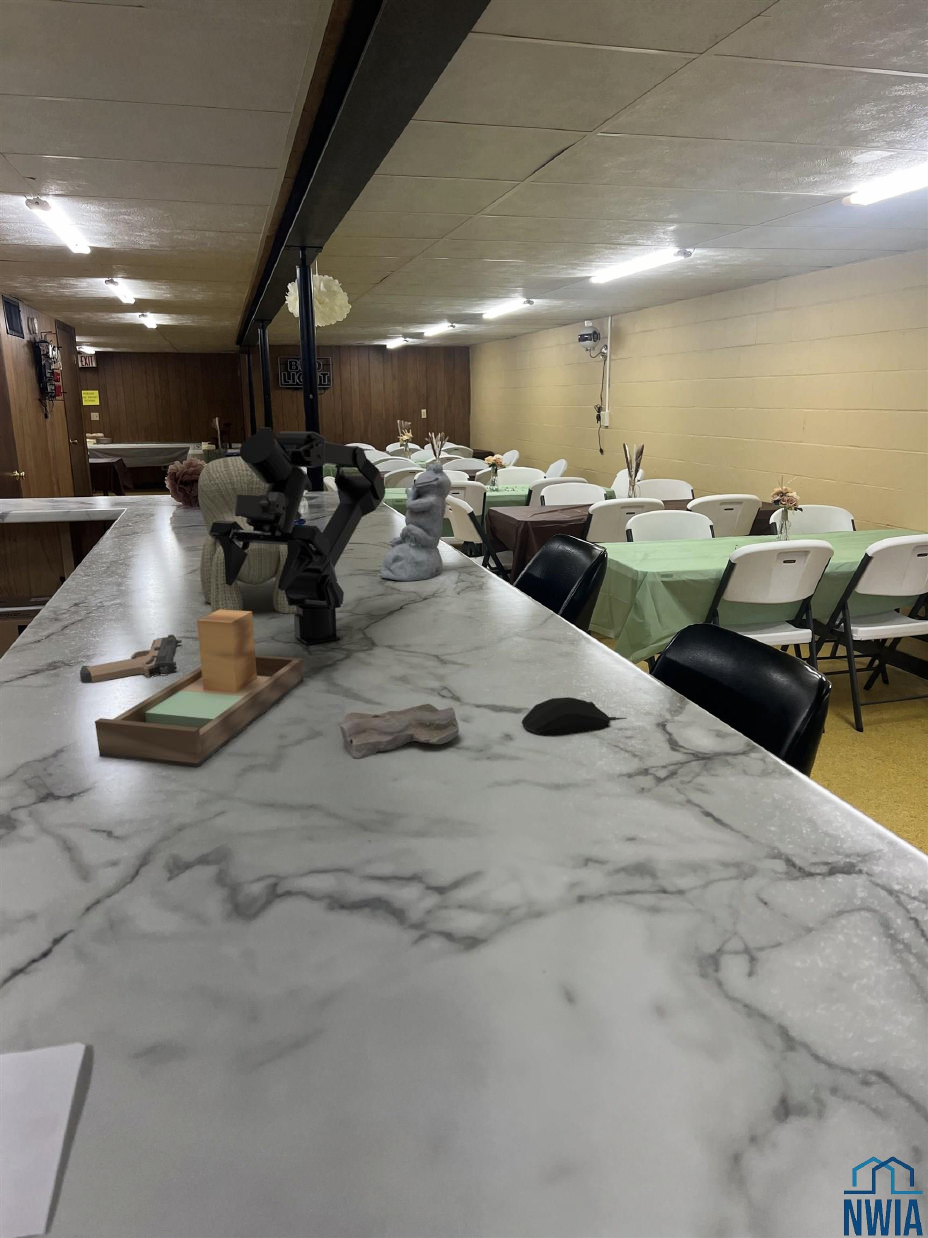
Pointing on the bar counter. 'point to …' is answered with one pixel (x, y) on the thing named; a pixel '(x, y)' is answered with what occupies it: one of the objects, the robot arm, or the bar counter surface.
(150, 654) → the handgun
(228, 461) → the toy
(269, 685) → the tray box
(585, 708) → the gaming mouse
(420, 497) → the sculpture
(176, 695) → the pad
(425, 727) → the stone
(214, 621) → the block
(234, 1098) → the bar counter surface
